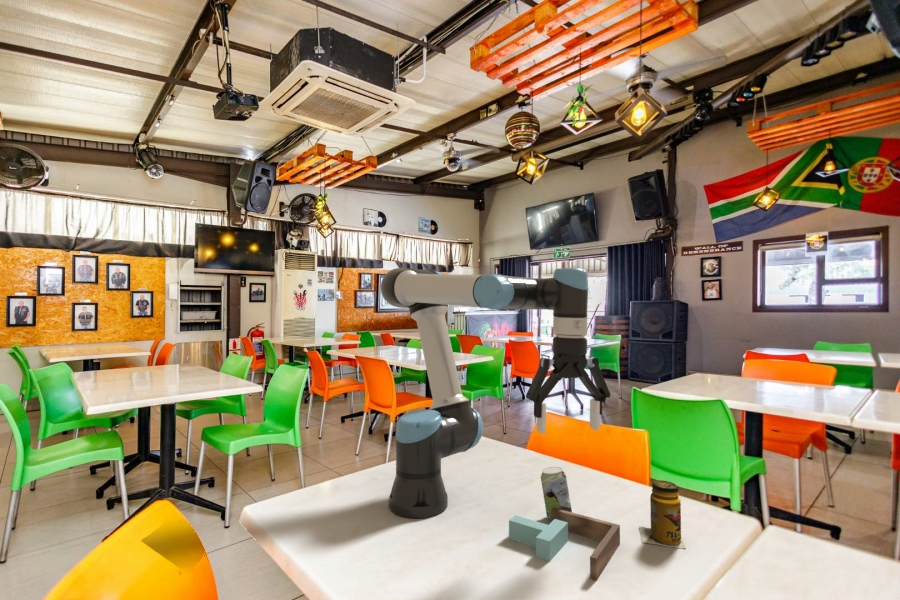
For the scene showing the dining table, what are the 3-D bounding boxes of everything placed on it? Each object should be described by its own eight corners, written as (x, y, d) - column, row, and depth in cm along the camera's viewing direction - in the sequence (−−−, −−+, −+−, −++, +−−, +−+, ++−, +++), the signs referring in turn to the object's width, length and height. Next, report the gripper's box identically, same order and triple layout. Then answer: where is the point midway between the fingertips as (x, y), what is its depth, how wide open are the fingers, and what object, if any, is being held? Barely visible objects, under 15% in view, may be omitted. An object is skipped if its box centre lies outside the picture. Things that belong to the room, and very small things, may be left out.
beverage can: (573, 527, 104) (572, 474, 104) (541, 524, 105) (540, 472, 105) (571, 515, 110) (571, 465, 110) (540, 512, 111) (540, 463, 112)
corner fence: (523, 555, 91) (522, 535, 92) (553, 524, 105) (553, 507, 105) (596, 580, 83) (596, 558, 83) (619, 544, 96) (619, 525, 96)
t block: (501, 545, 96) (501, 526, 96) (522, 527, 104) (522, 509, 104) (549, 561, 89) (549, 541, 89) (568, 541, 97) (567, 522, 97)
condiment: (686, 549, 94) (685, 491, 94) (642, 543, 96) (641, 487, 97) (679, 533, 101) (678, 479, 101) (638, 527, 103) (638, 475, 104)
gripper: (527, 337, 94) (525, 438, 94) (627, 337, 101) (626, 431, 101) (512, 335, 101) (510, 428, 101) (607, 335, 108) (605, 423, 108)
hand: (568, 430), depth 101 cm, fingers open, 13 cm apart
